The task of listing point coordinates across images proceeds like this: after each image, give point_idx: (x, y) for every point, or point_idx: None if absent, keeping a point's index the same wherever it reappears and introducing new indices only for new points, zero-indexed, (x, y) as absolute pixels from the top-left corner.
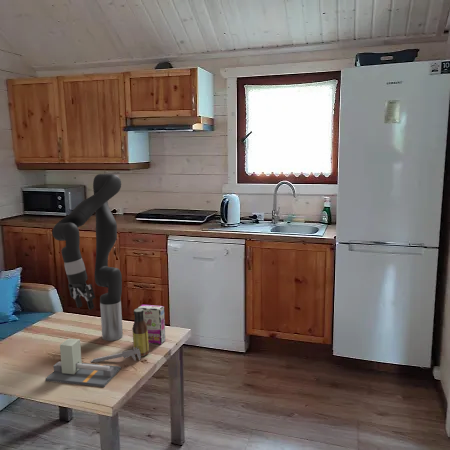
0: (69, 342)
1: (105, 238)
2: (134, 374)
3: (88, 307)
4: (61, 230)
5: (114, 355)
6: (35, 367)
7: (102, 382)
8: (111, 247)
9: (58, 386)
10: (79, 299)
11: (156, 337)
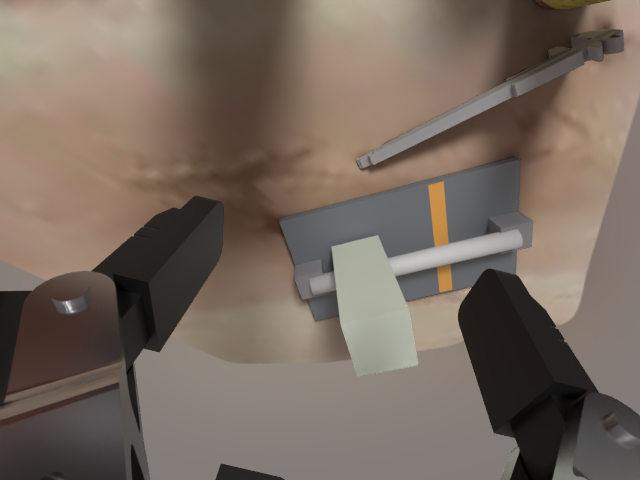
0: (381, 348)
1: None
2: (587, 167)
3: (470, 341)
4: None
5: (471, 116)
6: (209, 278)
7: (504, 270)
8: None
9: None
10: (165, 287)
11: None
